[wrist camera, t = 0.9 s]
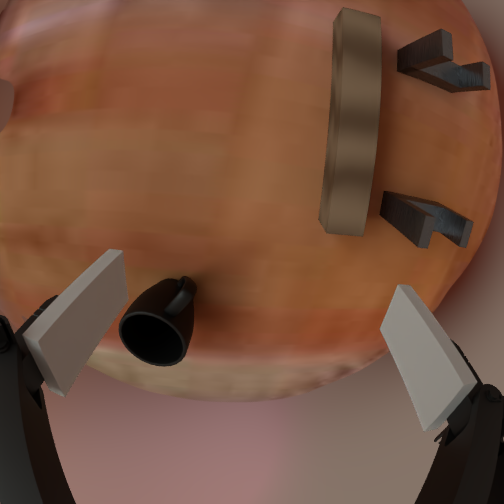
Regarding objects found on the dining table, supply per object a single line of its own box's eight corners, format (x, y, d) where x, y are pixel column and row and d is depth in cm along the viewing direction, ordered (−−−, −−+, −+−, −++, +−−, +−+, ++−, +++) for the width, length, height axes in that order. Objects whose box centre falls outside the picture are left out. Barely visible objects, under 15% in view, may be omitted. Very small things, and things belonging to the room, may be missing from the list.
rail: (332, 23, 22) (343, 7, 18) (365, 30, 22) (380, 16, 18) (317, 218, 32) (326, 233, 28) (349, 221, 32) (362, 236, 27)
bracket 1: (397, 50, 23) (441, 28, 13) (451, 72, 23) (500, 64, 13) (397, 71, 24) (443, 55, 15) (451, 92, 24) (502, 89, 15)
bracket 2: (384, 190, 30) (425, 215, 21) (437, 202, 30) (484, 228, 21) (379, 214, 31) (417, 247, 22) (432, 223, 31) (476, 255, 22)
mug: (232, 276, 35) (223, 323, 27) (182, 329, 39) (164, 376, 31) (180, 236, 33) (153, 273, 25) (136, 296, 37) (108, 338, 29)
